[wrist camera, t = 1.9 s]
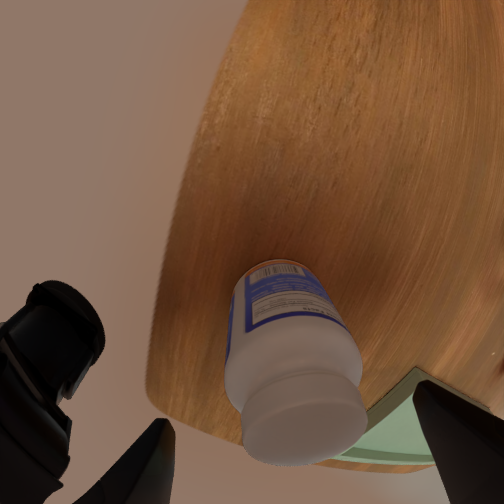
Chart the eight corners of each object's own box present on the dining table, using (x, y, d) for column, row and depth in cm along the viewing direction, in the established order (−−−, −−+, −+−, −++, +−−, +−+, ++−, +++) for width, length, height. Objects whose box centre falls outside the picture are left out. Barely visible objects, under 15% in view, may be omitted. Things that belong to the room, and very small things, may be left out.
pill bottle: (286, 349, 17) (313, 481, 8) (213, 311, 16) (190, 455, 7) (339, 285, 16) (419, 406, 7) (265, 237, 15) (295, 358, 6)
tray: (325, 443, 22) (328, 458, 20) (415, 366, 19) (425, 381, 17) (436, 455, 27) (440, 464, 25) (489, 408, 24) (494, 416, 22)
